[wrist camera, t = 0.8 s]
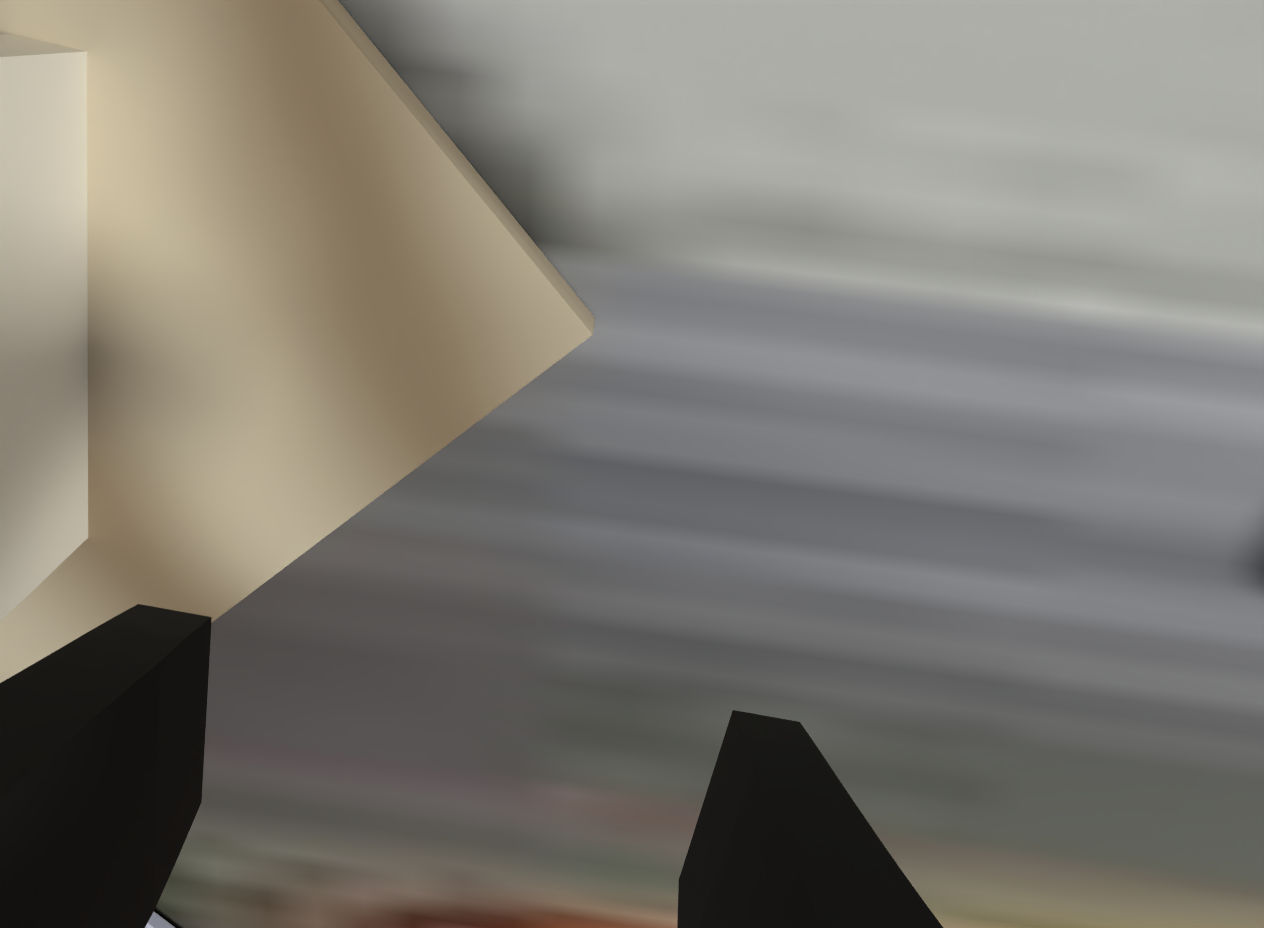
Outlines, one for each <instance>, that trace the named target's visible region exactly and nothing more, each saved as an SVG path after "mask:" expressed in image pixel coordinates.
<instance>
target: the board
mask: <svg viewBox="0 0 1264 928" xmlns="http://www.w3.org/2000/svg"><path fill="white" fill-rule="evenodd" d="M6 33H7V34H12V35H16V36H20V37H25V38H29V39H34V40H38V41H43V42H47V43H52V44H56V45H61V46H65V47H69V48H74V49H78V50H83V51H87V296H88V538H87V539H86V540H85V541H84V542H83V543H82V544H81V545H80V546H79V547H78V548H77V549H76V550H75V551H74V552H73V553H72V554H71V555H70V556H68V557H67V558H66V559H65V560H64V561H63V562H62V563H61V564H60V565H59V566H58V567H57V568H56V569H55V570H54V571H53V572H52V573H51V574H50V575H49V576H48V577H47V578H46V579H45V580H43V581H42V582H41V583H40V584H39V585H38V586H37V587H36V588H35V589H34V590H33V591H32V592H31V593H30V594H29V595H28V596H27V597H26V598H25V599H24V600H23V601H22V602H21V603H20V604H19V605H17V606H16V607H15V608H14V609H13V610H12V611H11V612H10V613H9V614H8V615H7V616H6V617H5V618H4V619H3V620H2V621H1V622H0V683H1V682H3V681H5V680H6V679H8V678H10V677H12V676H13V675H15V674H17V673H19V672H20V671H22V670H24V669H25V668H27V667H29V666H31V665H32V664H34V663H36V662H37V661H39V660H41V659H43V658H44V657H46V656H48V655H49V654H51V653H53V652H55V651H56V650H58V649H60V648H61V647H63V646H65V645H67V644H68V643H70V642H72V641H73V640H75V639H77V638H79V637H80V636H82V635H84V634H85V633H87V632H89V631H91V630H92V629H94V628H96V627H98V626H99V625H101V624H103V623H105V622H106V621H108V620H110V619H112V618H113V617H115V616H117V615H119V614H121V613H122V612H124V611H126V610H128V609H130V608H132V607H134V606H135V605H137V604H141V605H147V606H153V607H158V608H164V609H169V610H175V611H181V612H186V613H192V614H197V615H203V616H209V617H212V619H211V623H212V622H213V621H214V620H216V619H217V618H218V617H220V616H221V615H222V614H224V613H225V612H226V611H228V610H229V609H230V608H232V607H233V606H234V605H236V604H237V603H238V602H240V601H241V600H242V599H244V598H245V597H246V596H248V595H249V594H250V593H251V592H253V591H254V590H255V589H257V588H258V587H259V586H261V585H262V584H263V583H265V582H266V581H267V580H269V579H270V578H271V577H273V576H274V575H275V574H277V573H278V572H279V571H281V570H282V569H283V568H285V567H286V566H287V565H289V564H290V563H291V562H293V561H294V560H295V559H296V558H298V557H299V556H300V555H302V554H303V553H304V552H306V551H307V550H308V549H310V548H311V547H312V546H314V545H315V544H316V543H318V542H319V541H320V540H322V539H323V538H324V537H326V536H327V535H328V534H330V533H331V532H332V531H334V530H335V529H336V528H337V527H339V526H340V525H341V524H343V523H344V522H345V521H347V520H348V519H349V518H351V517H352V516H353V515H355V514H356V513H357V512H359V511H360V510H361V509H363V508H364V507H365V506H367V505H368V504H369V503H371V502H372V501H373V500H375V499H376V498H377V497H378V496H380V495H381V494H382V493H384V492H385V491H386V490H388V489H389V488H390V487H392V486H393V485H394V484H396V483H397V482H398V481H400V480H401V479H402V478H404V477H405V476H406V475H408V474H409V473H410V472H412V471H413V470H414V469H416V468H417V467H418V466H419V465H421V464H422V463H423V462H425V461H426V460H427V459H429V458H430V457H431V456H433V455H434V454H435V453H437V452H438V451H439V450H441V449H442V448H443V447H445V446H446V445H447V444H449V443H450V442H451V441H453V440H454V439H455V438H457V437H458V436H459V435H461V434H462V433H463V432H464V431H466V430H467V429H468V428H470V427H471V426H472V425H474V424H475V423H476V422H478V421H479V420H480V419H482V418H483V417H484V416H486V415H487V414H488V413H490V412H491V411H492V410H494V409H495V408H496V407H498V406H499V405H500V404H502V403H503V402H504V401H505V400H507V399H508V398H509V397H511V396H512V395H513V394H515V393H516V392H517V391H519V390H520V389H521V388H523V387H524V386H525V385H527V384H528V383H529V382H531V381H532V380H533V379H535V378H536V377H537V376H539V375H540V374H541V373H543V372H544V371H545V370H546V369H548V368H549V367H550V366H552V365H553V364H554V363H556V362H557V361H558V360H560V359H561V358H562V357H564V356H565V355H566V354H568V353H569V352H570V351H572V350H573V349H574V348H576V347H577V346H578V345H580V344H581V343H582V342H584V341H585V340H586V339H587V338H589V337H590V336H591V335H593V327H594V319H595V317H594V316H593V315H592V313H591V312H590V311H589V310H588V308H587V307H586V306H585V305H584V304H583V302H582V301H581V300H580V299H579V297H578V296H577V295H576V294H575V292H574V291H573V290H572V289H571V288H570V286H569V285H568V284H567V283H566V281H565V280H564V279H563V278H562V276H561V275H560V274H559V273H558V271H557V270H556V269H555V268H554V267H553V265H552V264H551V263H550V262H549V260H548V259H547V258H546V257H545V255H544V254H543V253H542V252H541V250H540V249H539V248H538V247H537V246H536V244H535V243H534V242H533V241H532V239H531V238H530V237H529V236H528V234H527V233H526V232H525V231H524V230H523V228H522V227H521V226H520V225H519V223H518V222H517V221H516V220H515V218H514V217H513V216H512V215H511V213H510V212H509V211H508V210H507V209H506V207H505V206H504V205H503V204H502V202H501V201H500V200H499V199H498V197H497V196H496V195H495V194H494V193H493V191H492V190H491V189H490V188H489V186H488V185H487V184H486V183H485V181H484V180H483V179H482V178H481V176H480V175H479V174H478V173H477V172H476V170H475V169H474V168H473V167H472V165H471V164H470V163H469V162H468V160H467V159H466V158H465V157H464V155H463V154H462V153H461V152H460V151H459V149H458V148H457V147H456V146H455V144H454V143H453V142H452V141H451V139H450V138H449V137H448V136H447V135H446V133H445V132H444V131H443V130H442V128H441V127H440V126H439V125H438V123H437V122H436V121H435V120H434V118H433V117H432V116H431V115H430V114H429V112H428V111H427V110H426V109H425V107H424V106H423V105H422V104H421V102H420V101H419V100H418V99H417V98H416V96H415V95H414V94H413V93H412V91H411V90H410V89H409V88H408V86H407V85H406V84H405V83H404V81H403V80H402V79H401V78H400V77H399V75H398V74H397V73H396V72H395V70H394V69H393V68H392V67H391V65H390V64H389V63H388V62H387V60H386V59H385V58H384V57H383V56H382V54H381V53H380V52H379V51H378V49H377V48H376V47H375V46H374V44H373V43H372V42H371V41H370V40H369V38H368V37H367V36H366V35H365V33H364V32H363V31H362V30H361V28H360V27H359V26H358V25H357V23H356V22H355V21H354V20H353V19H352V17H351V16H350V15H349V14H348V12H347V11H346V10H345V9H344V7H343V6H342V5H341V4H340V2H339V1H338V0H0V34H6Z"/></svg>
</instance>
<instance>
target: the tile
mask: <svg viewBox="0 0 1264 928" xmlns="http://www.w3.org/2000/svg"><path fill="white" fill-rule="evenodd" d="M87 538H88V296H87V51H83V50H78V49H74V48H69V47H65V46H61V45H56V44H52V43H47V42H43V41H38V40H34V39H29V38H25V37H20V36H16V35H12V34H7V33H6V34H0V622H1V621H2V620H3V619H4V618H5V617H6V616H7V615H8V614H9V613H10V612H11V611H12V610H13V609H14V608H15V607H16V606H17V605H19V604H20V603H21V602H22V601H23V600H24V599H25V598H26V597H27V596H28V595H29V594H30V593H31V592H32V591H33V590H34V589H35V588H36V587H37V586H38V585H39V584H40V583H41V582H42V581H43V580H45V579H46V578H47V577H48V576H49V575H50V574H51V573H52V572H53V571H54V570H55V569H56V568H57V567H58V566H59V565H60V564H61V563H62V562H63V561H64V560H65V559H66V558H67V557H68V556H70V555H71V554H72V553H73V552H74V551H75V550H76V549H77V548H78V547H79V546H80V545H81V544H82V543H83V542H84V541H85V540H86V539H87Z"/></svg>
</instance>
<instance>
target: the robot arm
mask: <svg viewBox="0 0 1264 928" xmlns="http://www.w3.org/2000/svg"><path fill="white" fill-rule="evenodd" d="M211 619H212V617H209V616H203V615H197V614H192V613H186V612H181V611H175V610H169V609H164V608H158V607H153V606H147V605H141V604H137V605H135V606H134V607H132V608H130V609H128V610H126V611H124V612H122V613H121V614H119V615H117V616H115V617H113V618H112V619H110V620H108V621H106V622H105V623H103V624H101V625H99V626H98V627H96V628H94V629H92V630H91V631H89V632H87V633H85V634H84V635H82V636H80V637H79V638H77V639H75V640H73V641H72V642H70V643H68V644H67V645H65V646H63V647H61V648H60V649H58V650H56V651H55V652H53V653H51V654H49V655H48V656H46V657H44V658H43V659H41V660H39V661H37V662H36V663H34V664H32V665H31V666H29V667H27V668H25V669H24V670H22V671H20V672H19V673H17V674H15V675H13V676H12V677H10V678H8V679H6V680H5V681H3V682H1V683H0V928H175V927H174V926H173V925H171V924H170V923H169V922H167V921H166V920H165V919H163V918H162V917H161V916H159V915H158V914H157V913H155V912H154V909H155V907H156V905H157V903H158V900H159V898H160V896H161V894H162V892H163V889H164V887H165V885H166V883H167V880H168V878H169V876H170V874H171V872H172V869H173V867H174V865H175V863H176V860H177V858H178V856H179V853H180V851H181V849H182V846H183V844H184V842H185V839H186V837H187V835H188V832H189V830H190V828H191V825H192V823H193V820H194V818H195V816H196V813H197V811H198V809H199V806H200V804H201V798H202V781H203V763H204V745H205V727H206V709H207V691H208V673H209V655H210V637H211ZM678 928H943V927H942V926H941V924H940V923H939V921H938V920H937V919H936V917H935V916H934V915H933V913H932V912H931V911H930V909H929V908H928V907H927V905H926V904H925V903H924V901H923V900H922V898H921V897H920V896H919V894H918V893H917V891H916V890H915V889H914V887H913V886H912V885H911V883H910V882H909V880H908V879H907V878H906V876H905V875H904V873H903V872H902V871H901V869H900V868H899V866H898V865H897V864H896V862H895V861H894V859H893V858H892V856H891V855H890V854H889V852H888V851H887V849H886V848H885V846H884V845H883V844H882V842H881V841H880V839H879V838H878V836H877V835H876V833H875V832H874V831H873V829H872V828H871V826H870V825H869V823H868V822H867V820H866V819H865V817H864V816H863V814H862V813H861V812H860V810H859V809H858V807H857V806H856V804H855V803H854V801H853V800H852V798H851V797H850V795H849V794H848V792H847V791H846V789H845V788H844V787H843V785H842V784H841V782H840V781H839V779H838V778H837V776H836V775H835V773H834V772H833V770H832V769H831V767H830V766H829V764H828V763H827V761H826V760H825V758H824V757H823V755H822V754H821V752H820V751H819V749H818V748H817V746H816V745H815V743H814V742H813V740H812V739H811V738H810V736H809V735H808V733H807V732H806V730H805V729H804V728H803V726H802V725H801V723H800V722H796V721H791V720H785V719H780V718H774V717H768V716H763V715H757V714H752V713H746V712H740V711H735V710H733V711H732V715H731V718H730V721H729V724H728V727H727V730H726V733H725V737H724V740H723V743H722V746H721V749H720V752H719V755H718V759H717V762H716V765H715V768H714V771H713V774H712V777H711V781H710V784H709V787H708V790H707V793H706V796H705V799H704V803H703V806H702V809H701V812H700V815H699V818H698V821H697V825H696V828H695V831H694V834H693V837H692V840H691V843H690V847H689V850H688V853H687V856H686V859H685V862H684V865H683V869H682V872H681V875H680V878H679V894H678Z"/></svg>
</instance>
